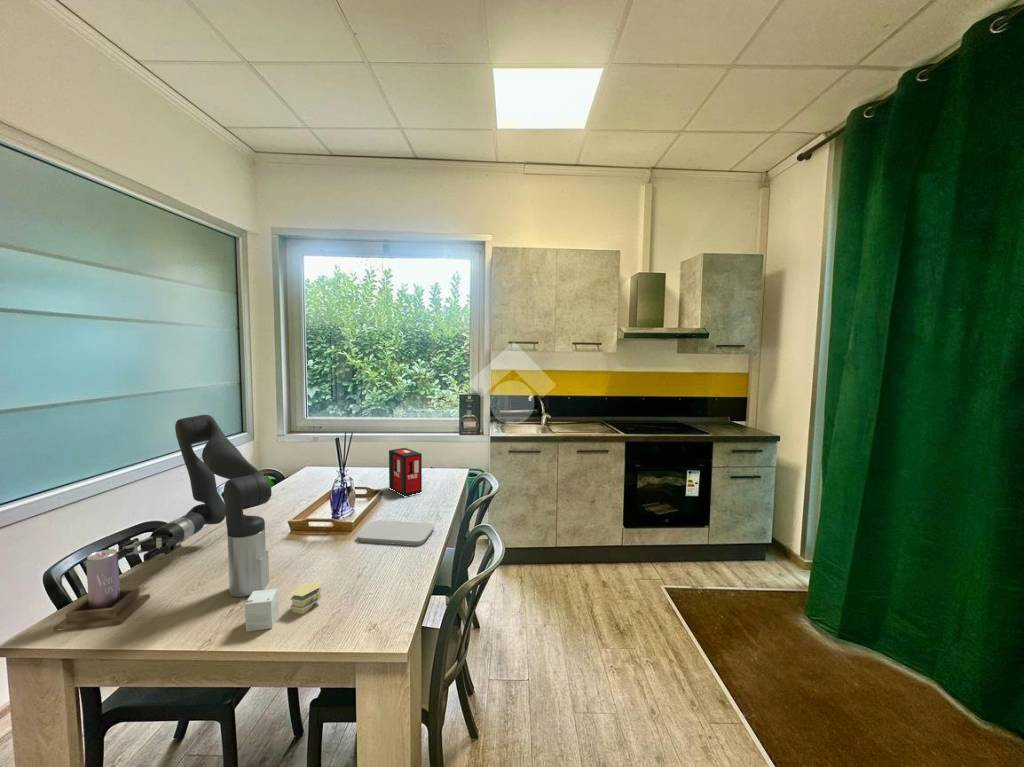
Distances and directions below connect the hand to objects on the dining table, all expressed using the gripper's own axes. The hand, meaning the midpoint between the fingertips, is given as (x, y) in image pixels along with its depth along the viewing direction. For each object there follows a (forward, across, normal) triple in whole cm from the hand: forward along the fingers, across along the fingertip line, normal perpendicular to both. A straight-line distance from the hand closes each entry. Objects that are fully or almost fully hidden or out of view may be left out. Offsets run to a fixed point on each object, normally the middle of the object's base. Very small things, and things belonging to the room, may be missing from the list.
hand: (129, 558), depth 119 cm
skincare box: (+13, +43, +11) cm, 47 cm away
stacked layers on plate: (+6, +51, +12) cm, 53 cm away
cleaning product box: (-91, +57, +11) cm, 108 cm away
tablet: (-40, +65, +12) cm, 77 cm away
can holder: (+8, 0, +11) cm, 14 cm away
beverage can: (+8, 0, +10) cm, 13 cm away
